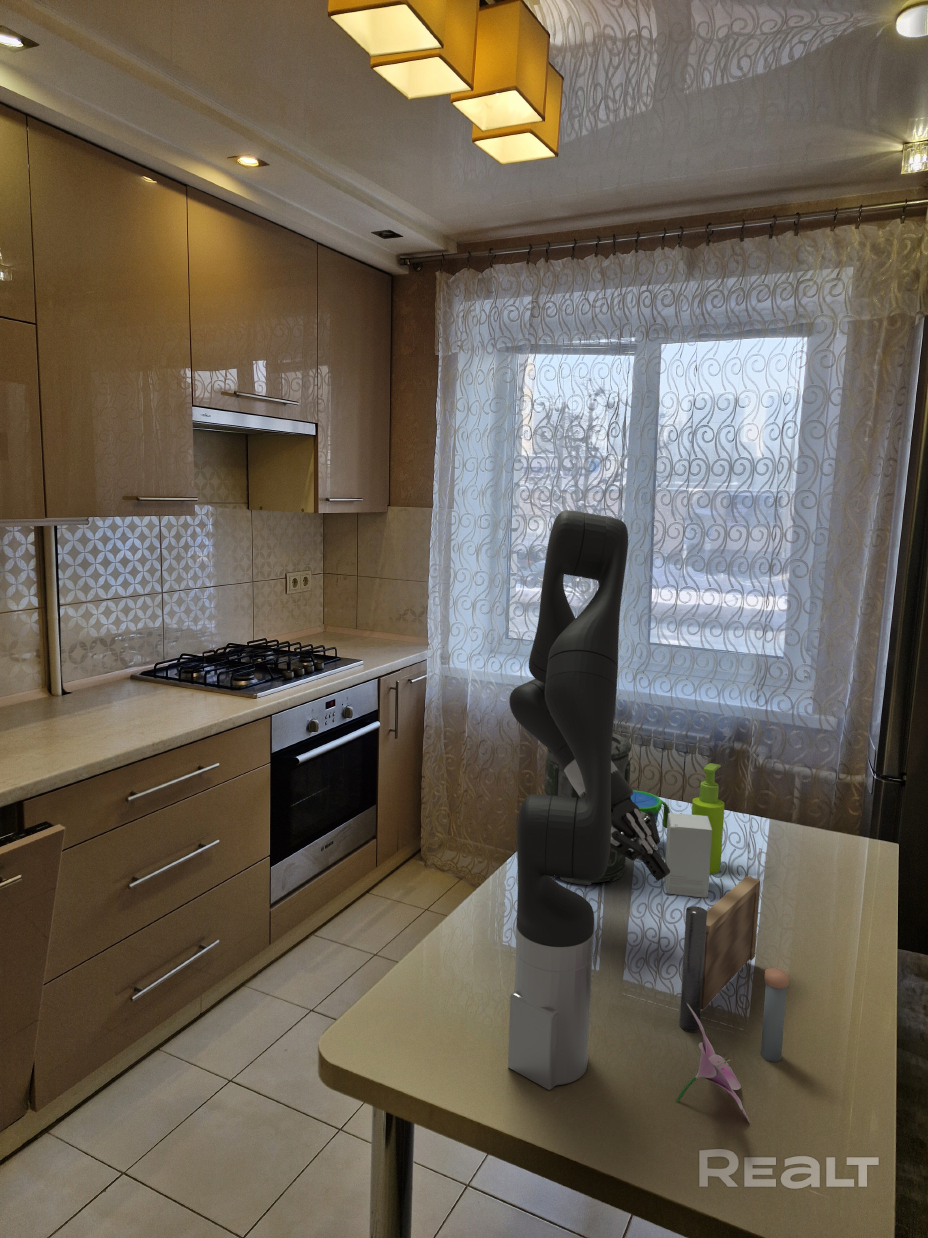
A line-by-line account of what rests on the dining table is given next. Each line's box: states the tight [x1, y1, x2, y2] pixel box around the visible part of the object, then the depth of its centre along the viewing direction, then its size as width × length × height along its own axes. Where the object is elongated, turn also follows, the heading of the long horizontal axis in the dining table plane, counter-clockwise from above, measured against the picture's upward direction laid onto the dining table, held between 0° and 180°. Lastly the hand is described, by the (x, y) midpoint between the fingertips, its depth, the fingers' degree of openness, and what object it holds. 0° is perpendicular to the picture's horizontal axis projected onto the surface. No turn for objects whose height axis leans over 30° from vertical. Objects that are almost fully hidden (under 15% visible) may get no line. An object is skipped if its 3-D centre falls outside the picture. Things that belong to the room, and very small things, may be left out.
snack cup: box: [630, 789, 671, 852], centre depth 164 cm, size 16×10×10 cm
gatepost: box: [678, 905, 708, 1033], centre depth 105 cm, size 3×3×16 cm
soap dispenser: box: [691, 762, 725, 875], centre depth 154 cm, size 6×7×20 cm
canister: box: [544, 732, 632, 886], centre depth 152 cm, size 16×16×28 cm
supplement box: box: [663, 812, 712, 899], centre depth 146 cm, size 7×7×13 cm
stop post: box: [760, 967, 790, 1063], centre depth 100 cm, size 3×3×11 cm
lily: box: [675, 1004, 750, 1124], centre depth 92 cm, size 12×12×10 cm
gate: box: [701, 875, 761, 1011], centre depth 114 cm, size 18×2×12 cm, turn 140°
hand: (664, 877), depth 124 cm, fingers closed
